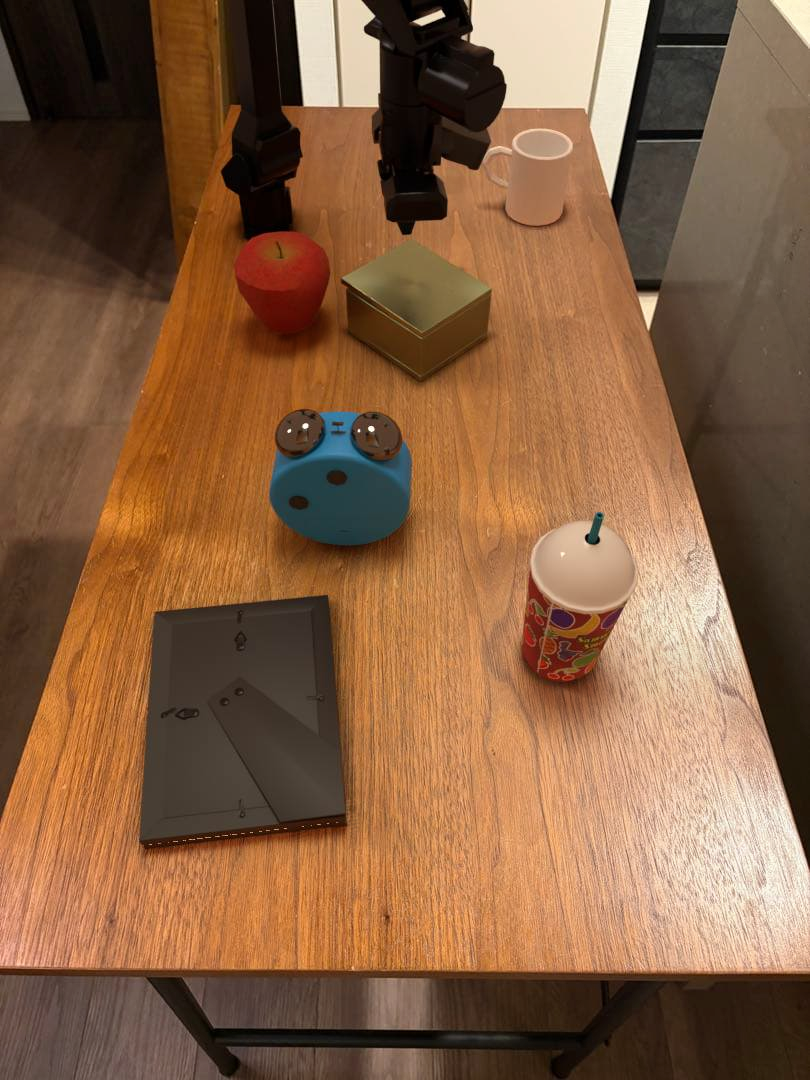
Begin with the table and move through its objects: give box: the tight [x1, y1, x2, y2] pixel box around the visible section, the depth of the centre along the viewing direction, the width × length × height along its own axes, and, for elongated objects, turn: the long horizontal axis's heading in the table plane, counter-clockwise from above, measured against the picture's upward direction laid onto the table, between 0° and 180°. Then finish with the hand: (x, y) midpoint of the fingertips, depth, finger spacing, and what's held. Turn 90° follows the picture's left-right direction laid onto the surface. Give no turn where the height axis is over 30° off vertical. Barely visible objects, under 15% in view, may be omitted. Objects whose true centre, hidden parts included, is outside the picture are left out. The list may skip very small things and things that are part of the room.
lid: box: [340, 238, 493, 338], centre depth 99 cm, size 13×12×1 cm
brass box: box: [345, 287, 492, 382], centre depth 101 cm, size 13×12×6 cm
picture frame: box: [138, 594, 348, 850], centre depth 71 cm, size 16×3×21 cm
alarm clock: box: [268, 408, 413, 546], centre depth 80 cm, size 13×6×15 cm, turn 87°
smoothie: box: [520, 511, 640, 683], centre depth 69 cm, size 8×8×20 cm
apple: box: [233, 231, 331, 336], centre depth 100 cm, size 11×11×12 cm
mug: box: [481, 127, 574, 227], centre depth 117 cm, size 8×12×10 cm
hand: (406, 233), depth 97 cm, fingers closed
